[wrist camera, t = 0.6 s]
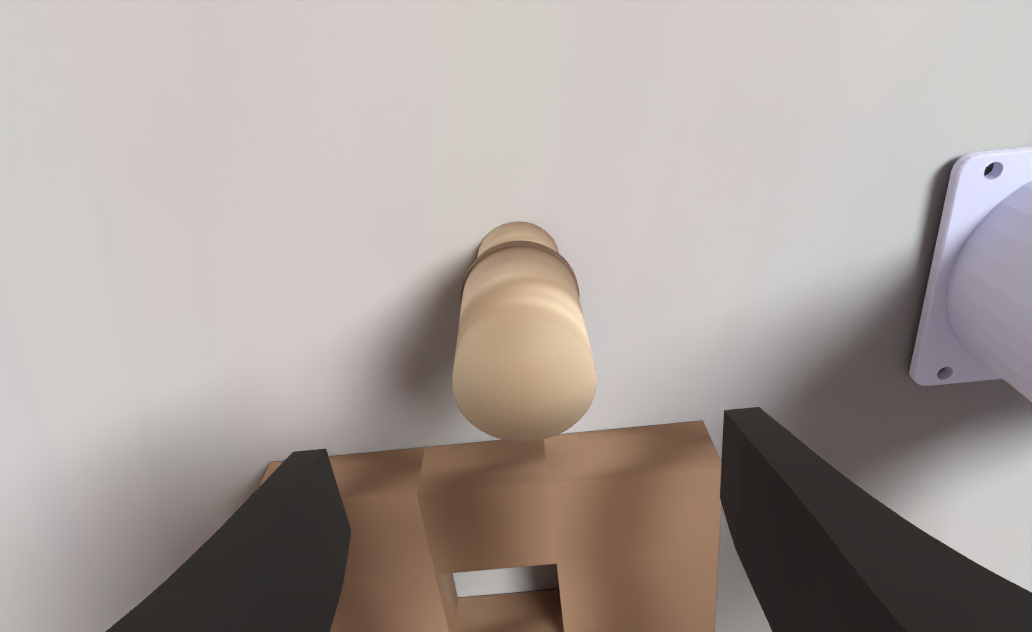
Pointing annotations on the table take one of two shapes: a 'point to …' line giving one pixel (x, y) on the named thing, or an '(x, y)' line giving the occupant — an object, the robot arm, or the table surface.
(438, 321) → the table surface
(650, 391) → the table surface
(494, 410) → the peg
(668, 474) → the board
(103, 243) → the table surface
